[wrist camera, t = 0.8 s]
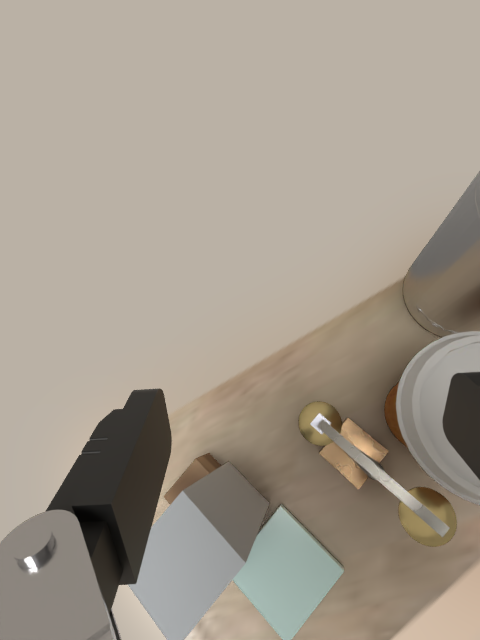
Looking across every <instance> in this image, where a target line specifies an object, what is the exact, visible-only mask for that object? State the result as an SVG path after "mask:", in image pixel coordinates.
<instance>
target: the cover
mask: <svg viewBox="0 0 480 640" xmlns="http://www.w3.org/2000/svg"><path fill="white" fill-rule="evenodd" d="M269 504H270V503H269V502H268V501H267V500H266V499H265V498H264V497H263V496H262V495H261V494H260V493H259V492H258V491H257V490H256V489H255V488H254V487H253V486H252V485H251V484H250V483H249V482H248V481H247V480H246V478H245V477H244V476H243V475H242V474H241V473H240V472H239V471H238V470H237V469H236V468H235V467H234V466H233V465H232V464H231V463H230V462H227V463H225V464H224V465H222V466H221V467H219V468H217V469H216V470H214V471H213V472H211V473H210V474H208V475H206V476H205V477H203V478H202V479H200V480H198V481H197V482H195V483H194V484H192V485H191V486H189V487H187V488H186V489H184V490H183V491H182V492H181V493H180V494H179V495H178V496H177V498H176V499H175V500H174V501H173V502H172V504H171V505H170V506H169V507H168V508H167V510H166V511H165V512H164V513H163V514H162V515H161V517H160V518H159V519H158V520H157V521H156V523H155V524H154V525H153V526H152V527H151V530H150V534H149V537H148V541H147V545H146V549H145V553H144V556H143V560H142V564H141V568H140V572H139V575H138V579H137V583H136V584H128V586H129V587H130V588H131V590H132V591H133V593H134V594H135V595H136V597H137V598H138V600H139V601H140V603H141V604H142V605H143V607H144V608H145V610H146V611H147V612H148V614H149V615H150V616H151V618H152V619H153V621H154V622H155V623H156V625H157V626H158V628H159V629H160V630H161V632H162V633H163V635H164V636H165V637H166V639H167V640H184V639H185V638H186V637H187V636H188V634H189V633H190V632H191V631H192V629H193V628H194V627H195V626H196V624H197V623H198V622H199V621H200V619H201V618H202V617H203V616H204V614H205V613H206V612H207V611H208V609H209V608H210V607H211V606H212V604H213V603H214V602H215V601H216V599H217V598H218V597H219V596H220V594H221V593H222V592H223V591H224V590H225V588H226V587H227V586H228V585H229V583H230V582H231V581H232V580H233V578H234V577H235V576H236V575H237V573H238V572H239V571H240V570H241V568H242V567H243V566H244V565H245V563H246V561H247V559H248V556H249V554H250V551H251V549H252V546H253V544H254V541H255V539H256V536H257V534H258V531H259V529H260V526H261V524H262V521H263V519H264V516H265V514H266V511H267V509H268V506H269Z"/></svg>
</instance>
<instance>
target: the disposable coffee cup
mask: <svg viewBox="0 0 480 640" xmlns="http://www.w3.org/2000/svg"><path fill="white" fill-rule="evenodd" d="M465 372H480V331H470V332H461V333H456V334H452V335H448V336H444V337H442V338H440V339H438V340H436V341H434V342H432V343H430V344H429V345H427V346H426V347H425V348H423V349H422V350H421V351H419V352H418V353H417V354H416V355H415V356H414V357H413V358H412V360H411V361H410V362H409V364H408V365H407V367H406V368H405V370H404V372H403V374H402V377H401V379H400V381H399V382H398V383H397V384H396V385H395V386H394V387H393V388H392V389H391V390H390V392H389V394H388V396H387V398H386V402H385V409H384V411H385V418H386V421H387V424H388V426H389V428H390V430H391V432H392V433H393V434H394V436H395V437H396V438H397V439H398V440H399V441H400V442H402V443H403V444H404V445H405V446H406V447H407V448H408V449H409V451H410V453H411V454H412V456H413V457H414V458H415V460H416V461H417V462H418V463H419V465H420V466H421V467H422V468H423V470H424V471H425V472H426V473H427V474H428V475H429V476H430V477H432V478H433V479H434V480H435V481H436V482H437V483H439V484H440V485H441V486H442V487H444V488H445V489H447V490H448V491H450V492H452V493H453V494H455V495H457V496H459V497H460V498H462V499H464V500H467V501H470V502H472V503H475V504H477V505H480V480H479V479H478V477H477V476H476V475H475V474H474V473H473V471H472V470H471V469H470V468H469V466H468V465H467V464H466V463H465V461H464V460H463V459H462V458H461V457H460V455H459V454H458V453H457V452H456V450H455V449H454V448H453V447H452V445H451V444H450V443H449V441H448V440H447V438H446V436H445V433H444V430H443V423H442V420H443V414H444V410H445V405H446V400H447V395H448V391H449V386H450V381H451V378H452V377H453V375H454V374H456V373H465Z"/></svg>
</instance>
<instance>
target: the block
mask: <svg viewBox="0 0 480 640" xmlns="http://www.w3.org/2000/svg"><path fill="white" fill-rule="evenodd" d="M219 467H221V465H220V464H219V463H218V462H217V461H216V460H215V459H214V458H213V457H212V456H211V455H210V453H208V454H206V455H203V456H201V457H198V458H196V459H195V460H194V461H193V463H192V464H191V465H190V466H189V467H188V468H187V470H186V471H185V472H184V473H183V474H182V476H181V477H180V478H179V479H178V480H177V481H176V483H175V484H174V485H173V486H172V487H171V488H170V490H169V491H168V492H167V493H166V494H165V496H164V498H165V499H166V500H167V501H168V503H169V504H170V505H171V504H172V502H173V501H174V500H175V499H176V498H177V496H178V495H179V494H180V493H181V492H182V491H183V490H184V489H186V488H187V487H189V486H191V485H192V484H194V483H195V482H197V481H198V480H200V479H202V478H203V477H205V476H206V475H208V474H210V473H211V472H213V471H214V470H216V469H217V468H219Z"/></svg>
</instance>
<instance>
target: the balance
mask: <svg viewBox="0 0 480 640" xmlns="http://www.w3.org/2000/svg"><path fill="white" fill-rule="evenodd" d="M299 428H300V431H301V433H302V435H303V436H304V438H305V439H306V440H308V441H309V442H310V443H312V444H315V445H319V446H324V447H323V448H322V449H321V450H320V452H319V454H320V455H321V456H322V457H323V458H325V459H326V460H327V461H328V462H329V463H330V464H331V465H332V466H333V467H334V468H336V469H337V470H338V471H339V472H340V473H341V474H342V475H343V476H344V477H345V478H347V479H348V480H349V481H350V482H351V483H352V484H353V485H354V486H355V487H356V488H358V489H359V488H360V487H361V486H362V485H363V483H364V482H365V481H366V479H367V478H368V477H370V478H371V479H373V480H378V481H379V482H380V483H381V484H382V485H384V486H385V487H386V488H387V489H388V490H389V491H390V492H392V493H393V494H394V495H395V496H396V497H397V498H398V499H400V502H399V507H398V513H399V519H400V522H401V524H402V526H403V528H404V529H405V531H406V532H407V533H408V534H409V535H410V536H411V537H412V538H413V539H414V540H415V541H417V542H418V543H421V544H423V545H426V546H431V547H437V546H441V545H444V544H446V543H447V542H449V541H450V540H451V539H452V537H453V536H454V534H455V531H456V526H457V520H456V515H455V512H454V509H453V507H452V506H451V504H450V503H449V501H448V500H447V499H446V498H445V497H444V496H442V495H441V494H440V493H438V492H436V491H435V490H432V489H430V488H426V487H416V488H413V489H410V490H409V491H406V490H405V489H404V488H403V487H401V486H400V485H399V484H398V483H397V482H396V481H394V480H393V479H392V478H391V477H390V476H389V475H387V474H386V473H385V472H384V470H383V467H382V466H381V464H379V463H380V462H381V460H382V459H383V458H384V457H385V455H386V454H387V453H388V452H389V451H388V450H386V449H385V448H384V447H383V446H382V445H380V444H379V443H378V442H377V441H376V440H374V439H373V438H372V437H371V436H370V435H368V434H367V433H366V432H365V431H364V430H362V429H361V428H360V427H359V426H358V425H356V424H355V423H354V422H353V421H352V420H350V419H349V418H346V420H345V421H344V422H343V423H342V421H341V417H340V415H339V413H338V412H337V410H336V409H335V408H334V407H333V406H331V405H330V404H328V403H325V402H312V403H310V404H308V405H307V406H305V407H304V408H303V410H302V411H301V413H300V416H299Z"/></svg>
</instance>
